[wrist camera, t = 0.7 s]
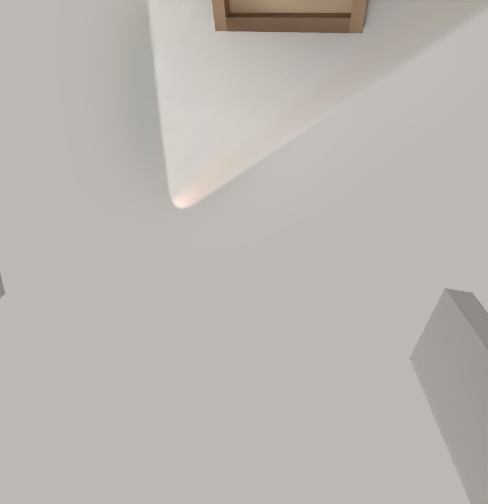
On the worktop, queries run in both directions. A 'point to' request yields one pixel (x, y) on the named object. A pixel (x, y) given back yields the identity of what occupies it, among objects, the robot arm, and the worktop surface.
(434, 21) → the worktop surface
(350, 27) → the tray
